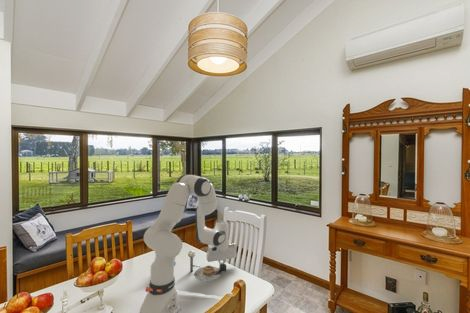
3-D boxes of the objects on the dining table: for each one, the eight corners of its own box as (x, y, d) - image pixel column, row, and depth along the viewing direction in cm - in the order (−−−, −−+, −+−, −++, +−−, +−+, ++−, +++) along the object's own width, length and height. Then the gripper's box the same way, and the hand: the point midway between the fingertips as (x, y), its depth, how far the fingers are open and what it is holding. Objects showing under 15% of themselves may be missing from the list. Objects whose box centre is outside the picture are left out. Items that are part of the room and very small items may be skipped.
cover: (203, 276, 142) (203, 270, 142) (202, 270, 148) (202, 265, 148) (214, 274, 143) (214, 269, 143) (213, 269, 150) (213, 263, 150)
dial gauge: (187, 274, 146) (187, 251, 146) (189, 271, 150) (189, 249, 150) (199, 276, 144) (199, 253, 144) (201, 272, 148) (201, 250, 148)
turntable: (197, 284, 134) (197, 277, 134) (192, 270, 150) (192, 264, 150) (230, 277, 142) (230, 271, 141) (221, 264, 157) (221, 259, 157)
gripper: (235, 241, 158) (235, 261, 159) (205, 245, 152) (205, 265, 152) (238, 244, 152) (238, 265, 153) (207, 249, 146) (207, 270, 146)
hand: (221, 265), depth 152 cm, fingers closed
